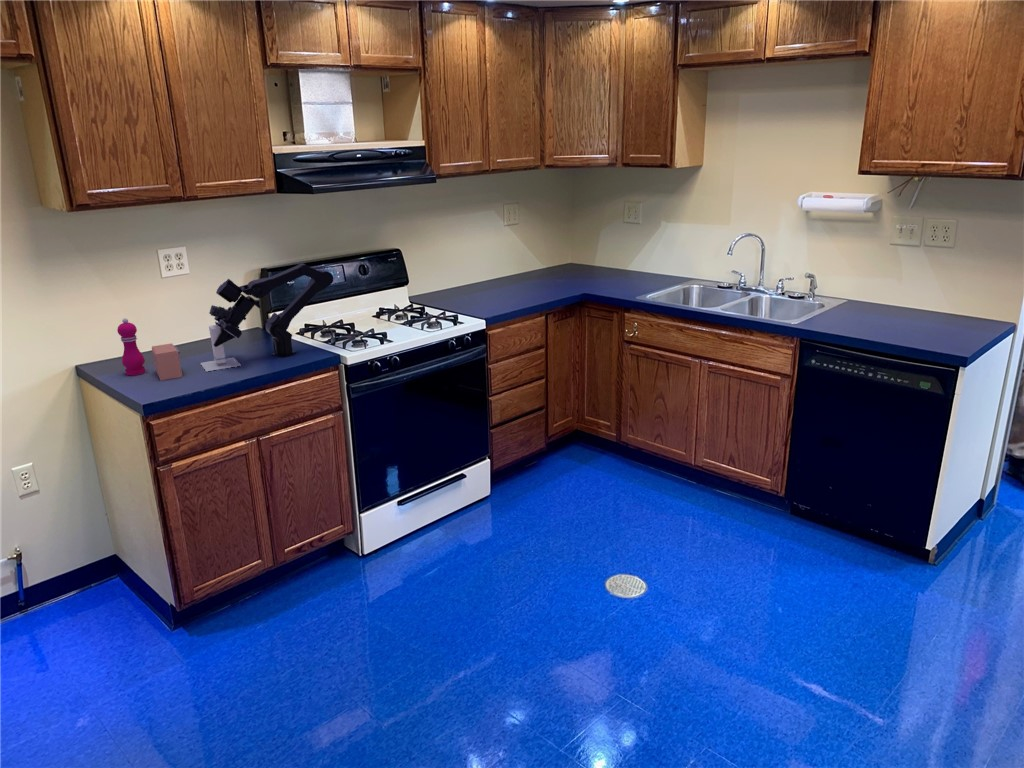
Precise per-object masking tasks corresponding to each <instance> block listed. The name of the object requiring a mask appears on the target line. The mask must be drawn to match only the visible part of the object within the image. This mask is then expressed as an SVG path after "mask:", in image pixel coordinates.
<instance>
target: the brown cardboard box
mask: <svg viewBox="0 0 1024 768" xmlns="http://www.w3.org/2000/svg"><path fill="white" fill-rule="evenodd" d="M151 352H152V358H153V362H154V367H155V371H156V374H157V376H158V378H159V379H160V381H165V380H171V379H178V378H183V372H182V366H181V360H180V354H181V351H180V350H179V348H178V347H177V346H176V345H174V344H173V343H172V342H171V343H166V344H159V345H154V346H153V345H152V346H151Z"/></svg>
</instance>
